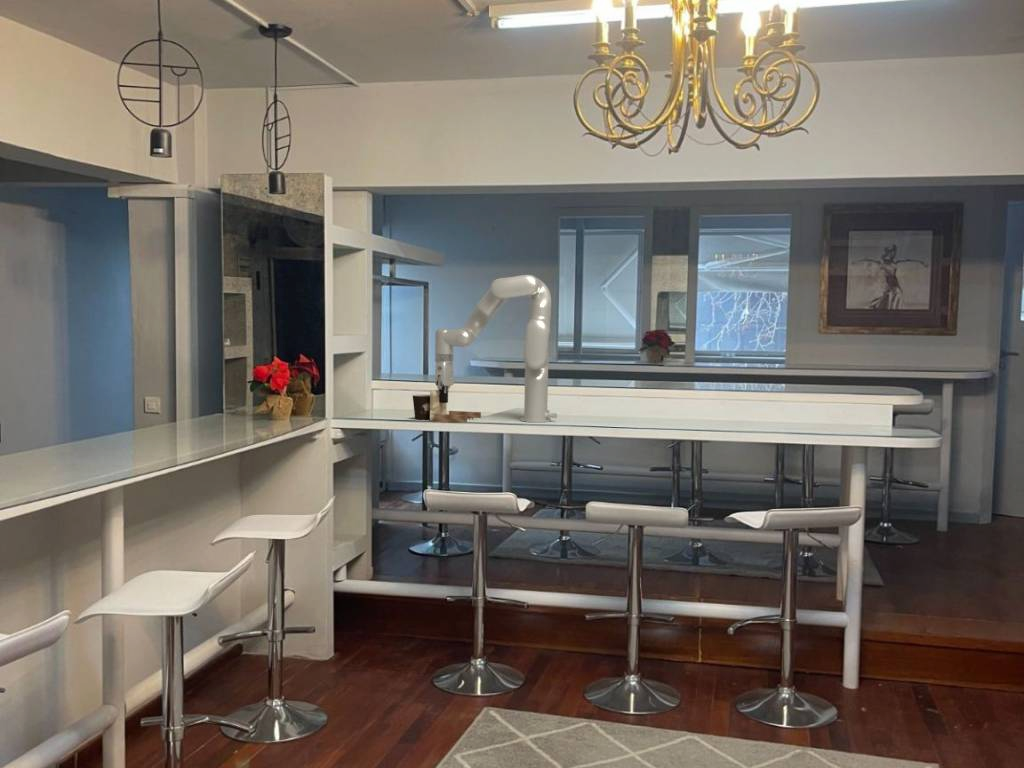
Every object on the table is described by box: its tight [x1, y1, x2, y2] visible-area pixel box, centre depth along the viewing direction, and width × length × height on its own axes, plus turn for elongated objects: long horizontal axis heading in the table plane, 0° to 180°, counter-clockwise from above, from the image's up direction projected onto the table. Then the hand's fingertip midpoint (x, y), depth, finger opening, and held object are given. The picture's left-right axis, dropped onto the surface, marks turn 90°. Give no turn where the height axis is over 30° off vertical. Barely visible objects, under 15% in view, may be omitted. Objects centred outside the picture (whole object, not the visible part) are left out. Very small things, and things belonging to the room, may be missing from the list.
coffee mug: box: [412, 394, 430, 421], centre depth 399 cm, size 12×9×10 cm
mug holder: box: [433, 410, 482, 424], centre depth 397 cm, size 14×17×3 cm
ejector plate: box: [429, 389, 448, 421], centre depth 399 cm, size 2×14×12 cm, turn 161°
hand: (443, 402), depth 399 cm, fingers closed
